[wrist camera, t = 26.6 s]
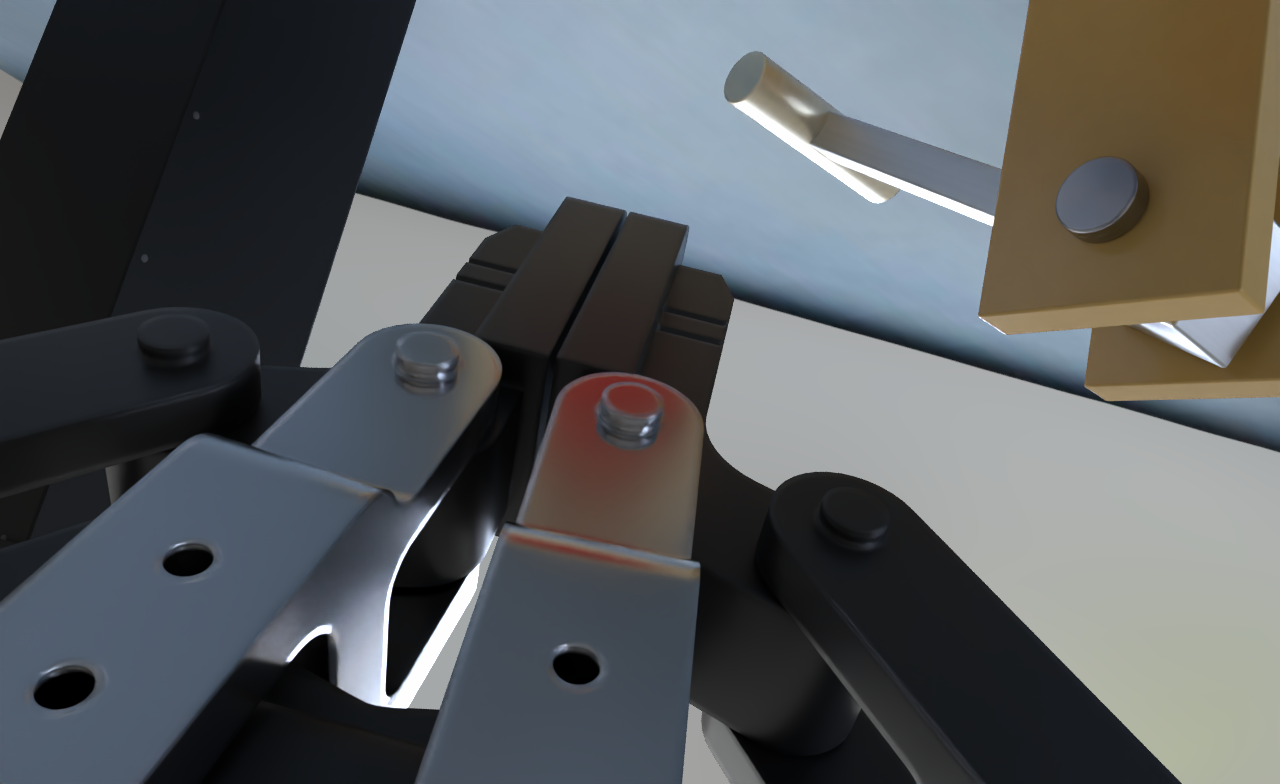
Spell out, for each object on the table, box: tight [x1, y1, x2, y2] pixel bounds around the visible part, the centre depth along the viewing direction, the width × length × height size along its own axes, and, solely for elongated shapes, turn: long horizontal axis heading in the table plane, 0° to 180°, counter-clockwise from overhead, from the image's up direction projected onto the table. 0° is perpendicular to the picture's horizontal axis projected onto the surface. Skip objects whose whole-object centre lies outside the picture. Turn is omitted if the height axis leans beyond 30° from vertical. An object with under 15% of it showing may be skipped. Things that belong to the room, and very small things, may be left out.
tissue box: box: [0, 0, 416, 549], centre depth 34 cm, size 8×8×28 cm
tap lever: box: [724, 51, 1280, 368], centre depth 23 cm, size 13×6×2 cm, turn 141°
